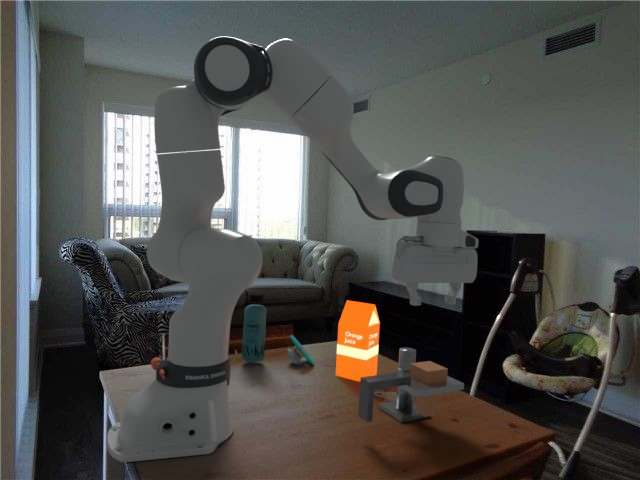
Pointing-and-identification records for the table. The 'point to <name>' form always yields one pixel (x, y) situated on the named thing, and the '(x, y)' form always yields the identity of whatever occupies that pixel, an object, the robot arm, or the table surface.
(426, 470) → the table surface
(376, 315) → the orange juice
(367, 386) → the grey windowed jig
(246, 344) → the beverage bottle
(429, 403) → the brown block
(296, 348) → the ornament
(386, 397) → the mounting bracket
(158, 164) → the robot arm
